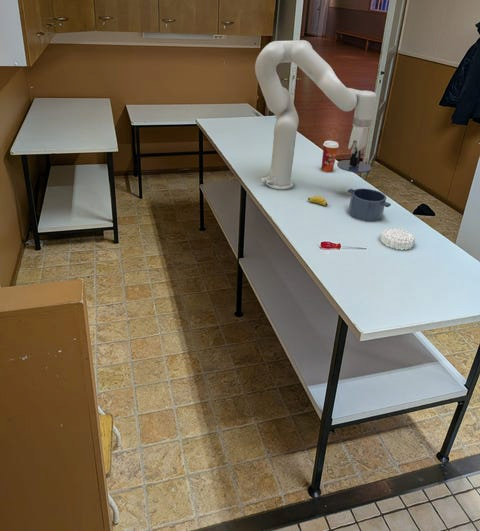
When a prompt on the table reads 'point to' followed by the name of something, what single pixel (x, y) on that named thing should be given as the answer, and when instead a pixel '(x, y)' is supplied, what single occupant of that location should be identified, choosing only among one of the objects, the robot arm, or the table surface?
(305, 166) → the table surface
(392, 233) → the mooncake
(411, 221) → the table surface
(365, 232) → the table surface
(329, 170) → the paper cup
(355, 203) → the pot
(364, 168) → the lid
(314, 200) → the yellow segmented pod
